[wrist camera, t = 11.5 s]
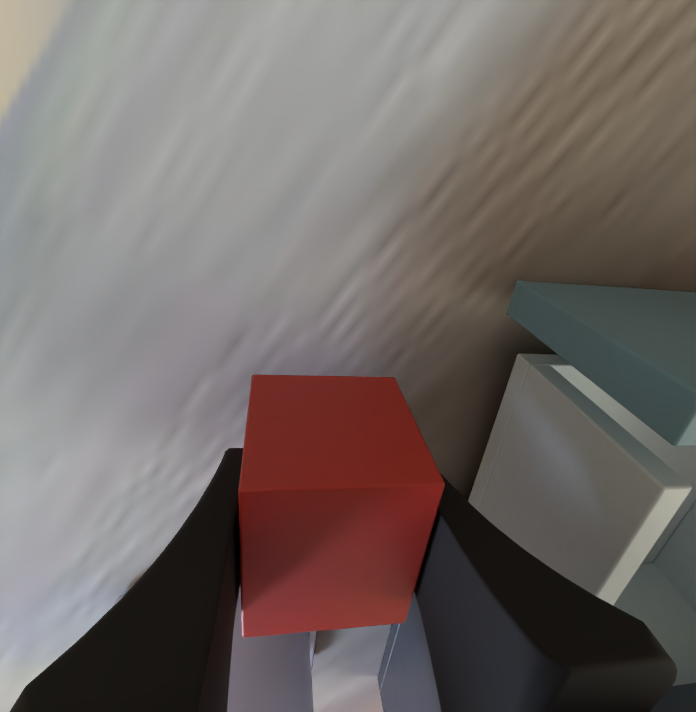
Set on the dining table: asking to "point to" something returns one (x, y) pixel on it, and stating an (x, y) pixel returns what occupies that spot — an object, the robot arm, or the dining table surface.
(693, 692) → the cabinet
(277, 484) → the red block
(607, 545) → the drawer
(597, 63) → the dining table surface
